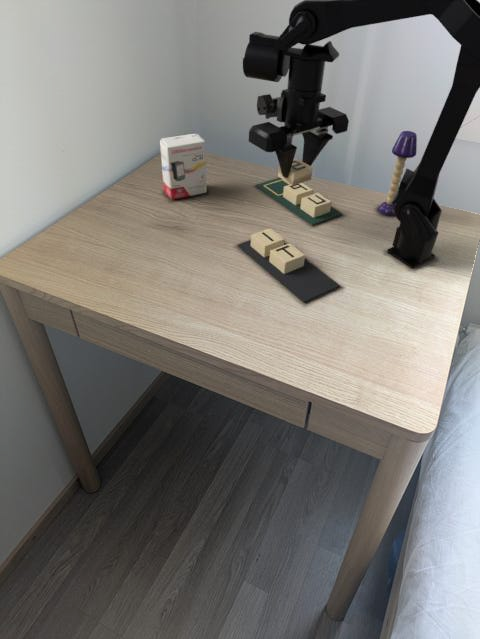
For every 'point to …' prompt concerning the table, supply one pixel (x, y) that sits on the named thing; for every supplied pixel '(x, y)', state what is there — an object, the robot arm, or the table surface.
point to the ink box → (183, 165)
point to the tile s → (297, 172)
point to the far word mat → (292, 207)
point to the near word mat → (297, 278)
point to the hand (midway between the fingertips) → (295, 173)
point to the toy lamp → (399, 167)
